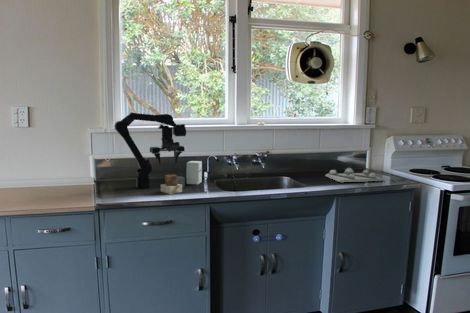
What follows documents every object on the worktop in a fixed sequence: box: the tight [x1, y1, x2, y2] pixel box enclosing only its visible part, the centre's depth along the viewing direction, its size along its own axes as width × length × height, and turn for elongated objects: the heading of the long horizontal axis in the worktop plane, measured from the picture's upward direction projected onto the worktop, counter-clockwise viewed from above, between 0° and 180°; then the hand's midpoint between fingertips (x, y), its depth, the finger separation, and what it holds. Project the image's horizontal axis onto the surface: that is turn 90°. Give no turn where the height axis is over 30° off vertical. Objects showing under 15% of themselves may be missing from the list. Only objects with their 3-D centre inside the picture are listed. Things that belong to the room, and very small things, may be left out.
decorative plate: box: [324, 167, 386, 184], centre depth 251 cm, size 30×22×7 cm
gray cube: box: [177, 175, 186, 188], centre depth 226 cm, size 5×5×5 cm
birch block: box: [160, 183, 183, 195], centre depth 212 cm, size 8×8×4 cm
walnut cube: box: [164, 174, 178, 186], centre depth 211 cm, size 5×5×5 cm
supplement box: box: [186, 160, 203, 186], centre depth 233 cm, size 7×7×13 cm
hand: (167, 164), depth 225 cm, fingers open, 9 cm apart
